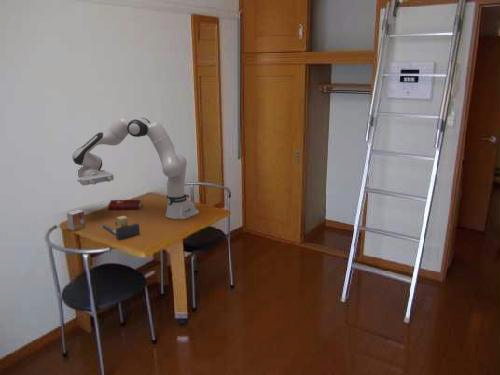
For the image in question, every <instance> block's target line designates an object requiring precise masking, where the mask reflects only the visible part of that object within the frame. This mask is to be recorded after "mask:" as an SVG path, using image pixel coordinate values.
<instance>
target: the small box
mask: <svg viewBox="0 0 500 375" xmlns="http://www.w3.org/2000/svg"><path fill="white" fill-rule="evenodd" d="M66 218H67V227H68V230H70V231H73V232H75V231H78V230H82V229H83V228H86V221H85V220H86V219H85V211H84V210H81V209H76V210H72V211H69V212H66ZM81 228H82V229H81Z"/></svg>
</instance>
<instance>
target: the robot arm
mask: <svg viewBox="0 0 500 375" xmlns="http://www.w3.org/2000/svg"><path fill="white" fill-rule="evenodd" d="M128 135H130V136H132V137H133V138H134V137H135V138H138V137H139V138H140V137H145V136H147V137H148V138H149V139H150V141H151V143H152V145H153V147H154V148H155V150H156V152H157V154H158V158H159V159H160V163H161V167H162V173H163V175H164V176H166V177H167V181H166V182H167V183H166V191H167V192H166V212H165V217H166V218H169V219H173V220H174V219H175V220H177V219H178V220H186V219H188V218H191V217H193V216H196V215H198V214H199V213H200V211H199V210H198V209H197V208H196V205H195V204H194V203H193V202H192V201H191V200H189V199H190V197H191V195H190V194H186V193H185V178H186V171H187V164H188V162H187V159H186V158H185V157H184V156H182V155H177V154H176V150H175V145H174V143H173V141H172V140H171V138H170V136H169V134H168V132H167V131H166V129H165V127H163V125H162V123H160V122H158V121H154V122H150V120H149V119H148V118H145V117H140V118H139V117H138V118H134V119H132V120H130V119H129V118H127V117H124V116H122V117H119V118H118V119H117V120H116V121H114V122H113V123H112V125H110V127H109V128H108V129H107V130H104V131H103V132H102V131H101V132H98V133H97V134H95V135H93V136H92V137H91V138H90V139H89V140H88V141H86V143H84V145H82V146H80V147H79V148H77V149H76V150H75V151H74V152H73V153H72V161H73V162H74V164H75V165H78V166H80V167H81V168H80V167H79V168H80V169H79V170H78V169H77V170H78V175H77V177H78V179H77V182H78V183H79V184H80V185H82V186H88V185H89V186H90V185H93V186H94V185H96V184H100V183H105V182H109V183H110V182H111V181H113V180H114V178H115V177H114V174H113V173H111V172H109V171H106V170H105V169H102V167H103V158H101V157H100V156H99V155H95V154H94V153H91V151H92V150H93V149H94V148H95V147H97V146H98V145H99V146H100V145H107V146H118V145H120V144H121V143H122V142H123V141H124V140H125V139H126V137H128ZM82 166H83V167H82Z"/></svg>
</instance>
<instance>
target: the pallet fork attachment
mask: <svg viewBox="0 0 500 375" xmlns="http://www.w3.org/2000/svg"><path fill="white" fill-rule="evenodd" d="M114 224H115V225H116V226H117V221H115V222H114ZM102 228H103V229H105V230H107V231H108V232H109V233H111V234H112V235H114V236H116V237H115V238H116V239H117V240H118V241H122V240H125V239H128V238H132V237H135V236H138V235H140V224H138V223H133V224H128V226H125V227H121V228H115V229H114V228H111V227H110V226H108V225H106V224H103V225H102Z"/></svg>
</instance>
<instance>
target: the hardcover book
mask: <svg viewBox="0 0 500 375" xmlns="http://www.w3.org/2000/svg"><path fill="white" fill-rule="evenodd" d="M142 202H143V200H142V199H111V200H109V203H108V204H107V210H108V211H140V210H141V206H142Z"/></svg>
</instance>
